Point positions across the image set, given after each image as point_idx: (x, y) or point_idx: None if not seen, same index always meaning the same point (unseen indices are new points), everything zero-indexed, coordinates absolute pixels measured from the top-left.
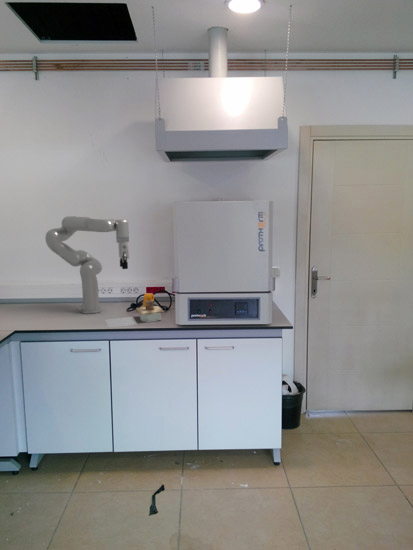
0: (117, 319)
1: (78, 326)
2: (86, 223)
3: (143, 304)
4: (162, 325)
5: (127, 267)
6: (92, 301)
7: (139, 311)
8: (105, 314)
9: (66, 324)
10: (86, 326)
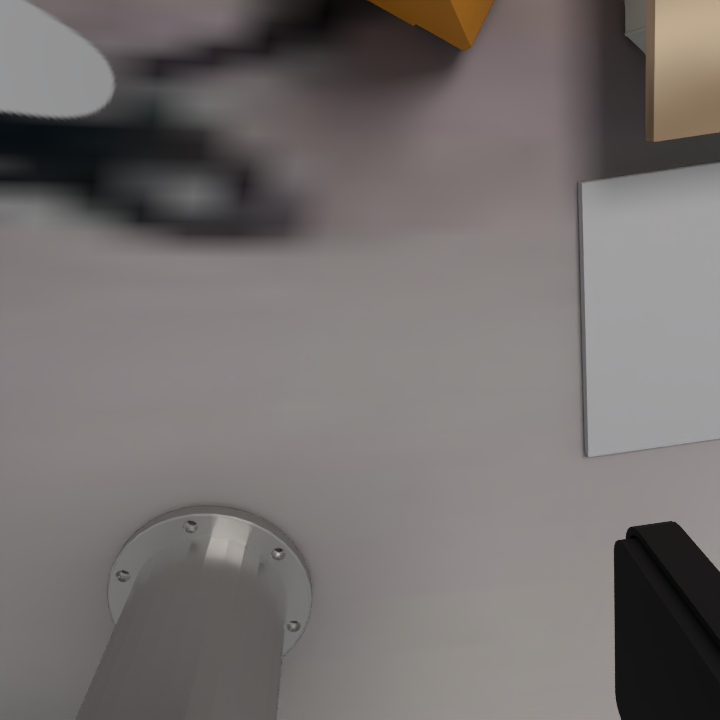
0: (628, 344)
1: None
2: None
3: (465, 14)
4: None
5: (703, 561)
6: (275, 659)
7: None
8: (360, 460)
9: (589, 714)
10: None
